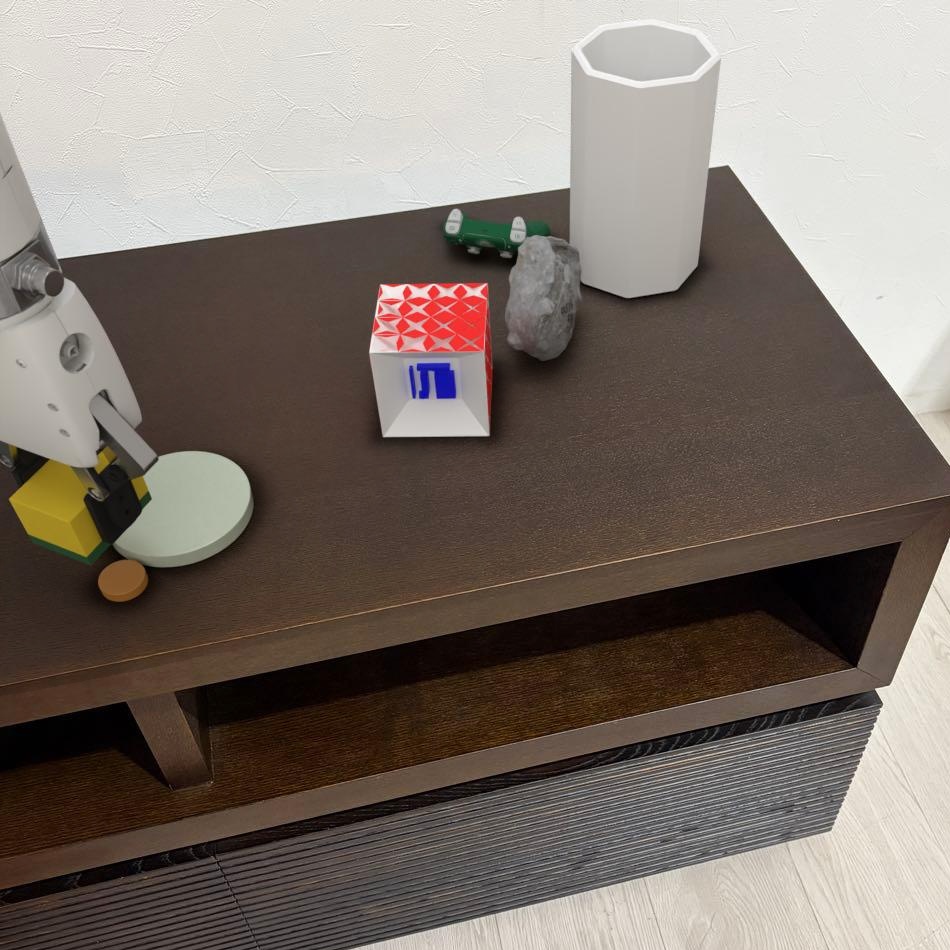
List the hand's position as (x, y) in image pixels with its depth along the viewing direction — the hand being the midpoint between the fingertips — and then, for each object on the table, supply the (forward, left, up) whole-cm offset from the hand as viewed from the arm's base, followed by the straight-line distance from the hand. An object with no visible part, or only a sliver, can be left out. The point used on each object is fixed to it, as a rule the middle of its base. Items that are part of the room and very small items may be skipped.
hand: (88, 512), depth 68 cm
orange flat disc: (+1, 0, -6) cm, 6 cm away
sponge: (0, 0, -1) cm, 1 cm away
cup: (+18, +47, -6) cm, 51 cm away
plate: (0, +6, -6) cm, 9 cm away
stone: (+16, +33, -6) cm, 37 cm away
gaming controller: (+6, +44, -6) cm, 45 cm away
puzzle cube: (+11, +24, -6) cm, 27 cm away
